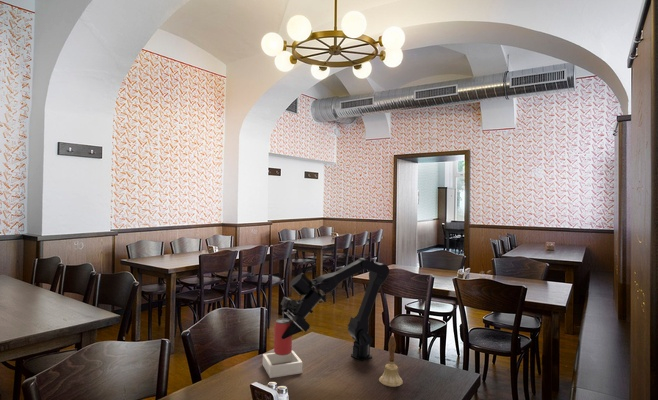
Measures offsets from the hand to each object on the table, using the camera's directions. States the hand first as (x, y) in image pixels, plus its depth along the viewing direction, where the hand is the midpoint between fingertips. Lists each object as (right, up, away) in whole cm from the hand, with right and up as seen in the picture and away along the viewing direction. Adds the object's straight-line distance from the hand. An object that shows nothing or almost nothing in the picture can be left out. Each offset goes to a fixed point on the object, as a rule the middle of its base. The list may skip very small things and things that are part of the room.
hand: (279, 335), depth 143 cm
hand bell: (+40, -14, -8) cm, 43 cm away
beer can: (+1, -7, 0) cm, 7 cm away
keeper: (+1, -13, 0) cm, 13 cm away
